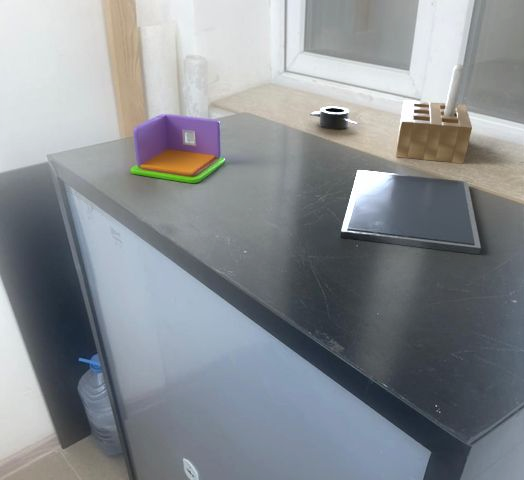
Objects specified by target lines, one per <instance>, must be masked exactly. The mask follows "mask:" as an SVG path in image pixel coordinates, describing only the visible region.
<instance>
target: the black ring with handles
mask: <svg viewBox="0 0 524 480" xmlns="http://www.w3.org/2000/svg"><path fill="white" fill-rule="evenodd" d="M349 115H350V110H349V109H348V108H346V107H341V106H324V107H322V108H320V110H319V111H318V110H317V111H313V112H311V113H310V115H309V116H314V117H318V118H319V122H318V125H319V127H321V128H323V129H328V130H344V129H347V128H348V125H349V123H351V124H354V125H359V123H358V122H356V121H352V120H350V119H349Z"/></svg>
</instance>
